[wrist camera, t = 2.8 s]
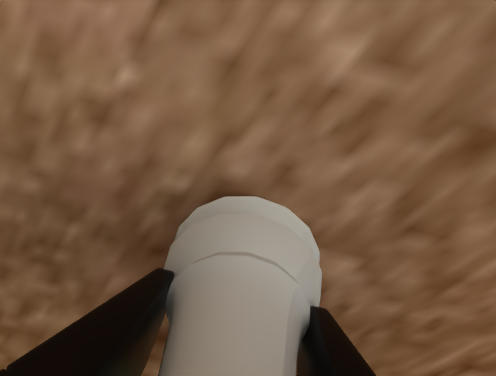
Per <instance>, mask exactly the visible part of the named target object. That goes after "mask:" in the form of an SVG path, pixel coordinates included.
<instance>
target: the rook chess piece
mask: <svg viewBox="0 0 496 376" xmlns="http://www.w3.org/2000/svg"><path fill="white" fill-rule="evenodd" d="M319 259H320V251H319V249H318V247H317V244H316V242H315V240H314V237H313V235H312V233H311V231H310V228H309V227H308V226H307V225H306V224H305V223H304V222H302V221H301V220H300V219H299V218H298V217H297V216H296V215H295V214H294V213H292V212H291V211H290V210H289V209H288V208H287V207H284V206H282V205H279V204H276V203H273V202H271V201H268V200H265V199H263V198H260V197H257V196H233V197H223V198H220V199H218V200H215V201H213V202H210V203H207V204H205V205H202V206H200V207H197V208H196V209H195V210H194V211H193V212H192V214H191V215H190V216H189V217H188V218H187V219H186V220H185V221H184V222H183V223H182V224H181V225H180V226H179V227H178V230H177V234H176V237H175V240H174V242H173V243H172V244H171V246H170V249H169V253H168V256H167V259H166V262H165V266H164V269H167V270H171V271H173V272H174V279H173V281H172V282H171V285H170V288H169V291H168V295H167V300H166V311H167V317H168V322H169V330H168V336H167V340H166V344H165V348H164V353H163V357H162V361H161V365H160V369H159V374H158V376H296V363H297V354H298V349H299V345H300V343H301V341H302V340H303V338H304V336H305V334H306V332H307V330H308V327H309V323H310V306H317V307H319V303H320V297H321V282H322V271H321V269H320V266H319Z"/></svg>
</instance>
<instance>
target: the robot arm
mask: <svg viewBox="0 0 496 376" xmlns="http://www.w3.org/2000/svg"><path fill="white" fill-rule="evenodd" d="M173 279H174V272H173V271H171V270H167V269H162V268H158V269H155V270H154V271H152V272H151V273H149V274H148V275H146V276H145V277H143V278H142V279H140V280H139V281H137V282H136V283H134V284H132V285H131V286H129V287H128V288H126V289H125V290H123V291H122V292H120V293H119V294H117V295H116V296H114V297H112V298H111V299H109V300H108V301H106V302H105V303H103V304H102V305H100V306H99V307H97V308H96V309H94V310H92V311H91V312H89V313H88V314H86V315H85V316H83V317H82V318H80V319H79V320H77V321H76V322H74V323H72V324H71V325H69V326H68V327H66V328H65V329H63V330H62V331H60V332H59V333H57V334H56V335H54V336H53V337H51V338H49V339H48V340H46V341H45V342H43V343H42V344H40V345H39V346H37V347H36V348H34V349H33V350H31V351H29V352H28V353H26V354H25V355H23V356H22V357H20V358H19V359H17V360H16V361H14V362H13V363H11V364H9V365H8V366H7V368H6V370H5V369H2V370H0V376H141V374H142V372H143V370H144V368H145V366H146V363H147V361H148V358H149V356H150V353H151V350H152V348H153V345H154V342H155V340H156V337H157V334H158V332H159V329H160V326H161V324H162V321H163V318H164V316H165V313H166V300H167V295H168V291H169V288H170V285H171V282H172V281H173ZM297 376H376V375H375V373H374V372H373V371H372V369H371V368H370V367H369V365H368V364H367V363H366V361H365V360H364V359H363V357H362V356H361V354H360V353H359V352H358V350H357V349H356V348H355V346H354V345H353V344H352V342H351V341H350V340H349V338H348V337H347V336H346V334H345V333H344V332H343V330H342V329H341V328H340V326H339V325H338V323H337V322H336V321H335V319H334V318H333V317H332V315H331V314H330V313H329V311H328V310H326V309H324V308H321V307H317V306H310V323H309V327H308V330H307V332H306V334H305V336H304V338H303V340H302V341H301V343H300V345H299V349H298V365H297Z"/></svg>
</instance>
